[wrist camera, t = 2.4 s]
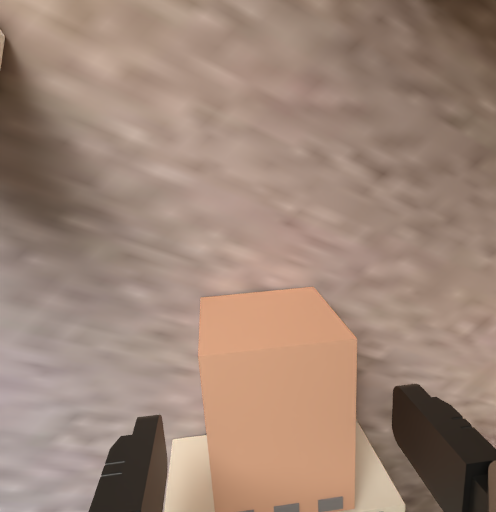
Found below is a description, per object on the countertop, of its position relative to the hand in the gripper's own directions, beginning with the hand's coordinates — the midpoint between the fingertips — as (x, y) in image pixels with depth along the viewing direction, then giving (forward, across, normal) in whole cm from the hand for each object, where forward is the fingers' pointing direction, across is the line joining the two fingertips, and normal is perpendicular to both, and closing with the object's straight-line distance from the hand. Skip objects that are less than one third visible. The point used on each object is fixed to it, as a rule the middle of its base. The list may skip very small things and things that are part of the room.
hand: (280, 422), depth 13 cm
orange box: (+5, 0, 0) cm, 5 cm away
